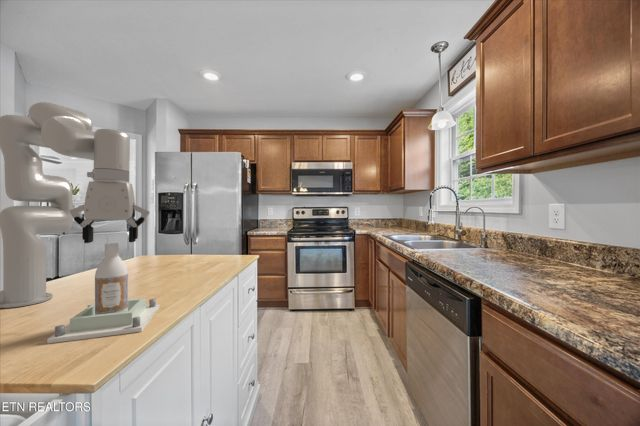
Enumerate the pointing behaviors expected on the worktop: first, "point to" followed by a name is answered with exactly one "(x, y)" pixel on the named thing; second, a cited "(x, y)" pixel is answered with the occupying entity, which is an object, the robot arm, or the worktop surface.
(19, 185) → the robot arm
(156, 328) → the worktop surface
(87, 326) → the dock
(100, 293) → the bath foam
